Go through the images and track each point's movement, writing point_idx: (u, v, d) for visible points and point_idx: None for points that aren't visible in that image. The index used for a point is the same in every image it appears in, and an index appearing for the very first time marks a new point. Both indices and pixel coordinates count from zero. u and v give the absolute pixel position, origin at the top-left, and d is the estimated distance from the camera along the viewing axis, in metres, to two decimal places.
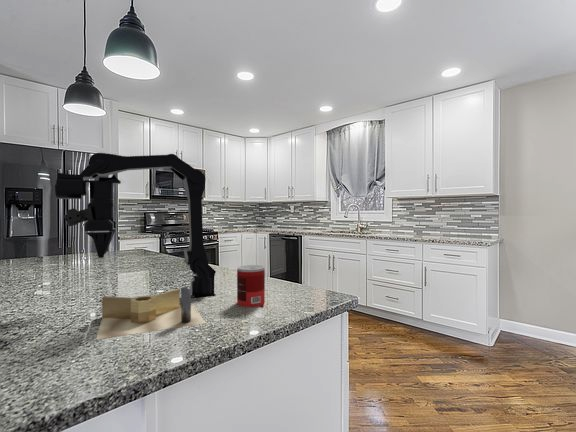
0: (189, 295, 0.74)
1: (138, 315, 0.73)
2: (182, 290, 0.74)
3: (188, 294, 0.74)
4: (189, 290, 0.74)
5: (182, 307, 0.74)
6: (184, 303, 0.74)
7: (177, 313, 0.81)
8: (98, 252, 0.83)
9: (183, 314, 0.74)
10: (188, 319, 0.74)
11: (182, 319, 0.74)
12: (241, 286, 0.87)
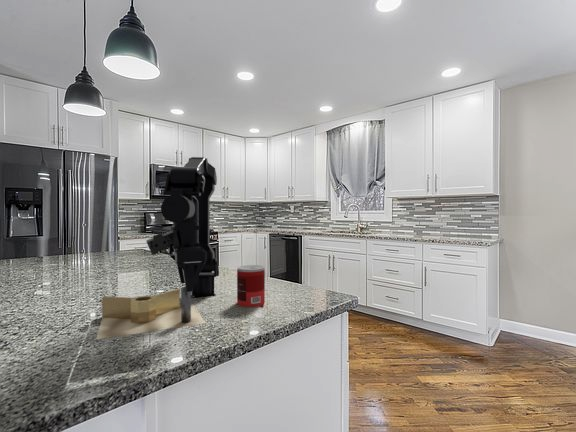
0: (189, 295, 0.74)
1: (138, 315, 0.73)
2: (182, 290, 0.74)
3: (188, 294, 0.74)
4: None
5: (182, 307, 0.74)
6: (184, 303, 0.74)
7: (177, 313, 0.81)
8: (187, 285, 0.70)
9: (183, 314, 0.74)
10: (188, 319, 0.74)
11: (182, 319, 0.74)
12: (241, 286, 0.87)
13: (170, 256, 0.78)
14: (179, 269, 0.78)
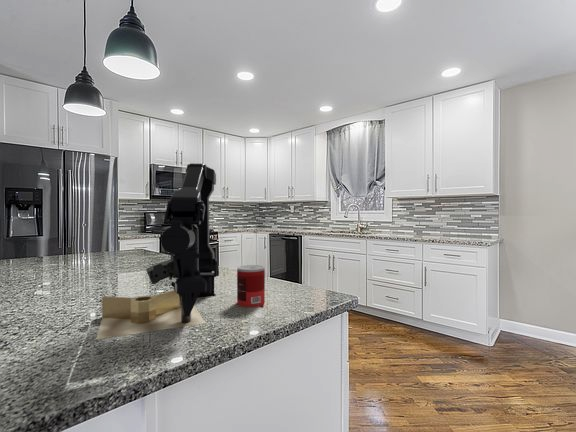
0: None
1: (138, 315, 0.73)
2: None
3: None
4: None
5: (182, 307, 0.74)
6: None
7: (177, 313, 0.81)
8: (185, 311, 0.73)
9: (183, 314, 0.74)
10: (188, 319, 0.74)
11: (182, 319, 0.74)
12: (241, 286, 0.87)
13: (172, 285, 0.75)
14: (181, 299, 0.75)
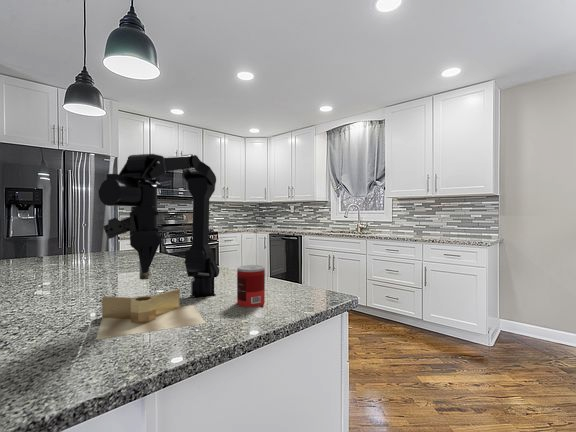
0: None
1: (138, 315, 0.73)
2: None
3: None
4: None
5: (140, 264, 0.75)
6: None
7: (177, 313, 0.81)
8: (142, 267, 0.74)
9: (141, 271, 0.75)
10: (146, 276, 0.75)
11: (140, 276, 0.75)
12: (241, 286, 0.87)
13: None
14: None
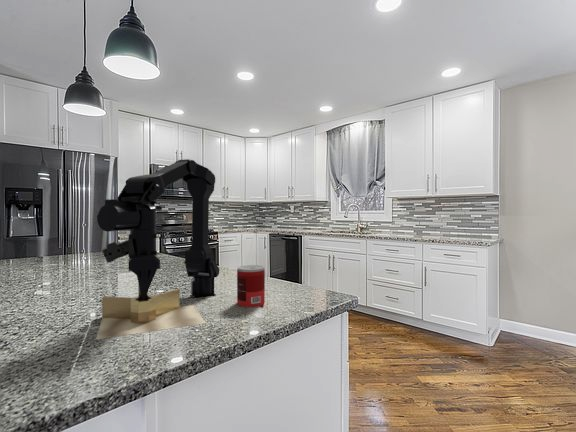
0: None
1: (138, 315, 0.73)
2: None
3: None
4: None
5: None
6: None
7: (177, 313, 0.81)
8: (141, 289, 0.74)
9: (140, 293, 0.75)
10: (145, 298, 0.75)
11: (139, 298, 0.75)
12: (241, 286, 0.87)
13: None
14: None
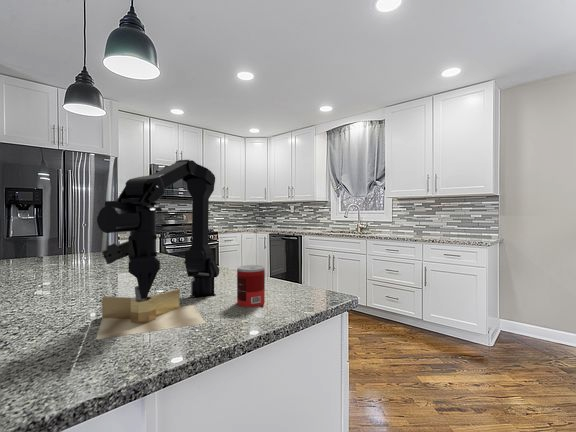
0: None
1: (138, 315, 0.73)
2: (135, 289, 0.75)
3: None
4: None
5: None
6: None
7: (177, 313, 0.81)
8: (141, 293, 0.73)
9: None
10: None
11: None
12: (241, 286, 0.87)
13: None
14: None
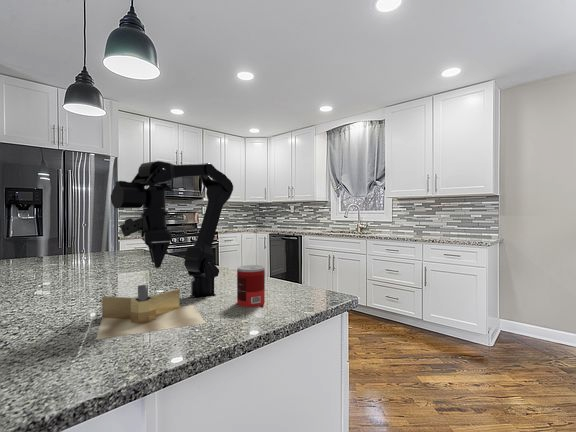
0: (146, 292, 0.76)
1: (138, 315, 0.73)
2: (138, 288, 0.76)
3: (144, 291, 0.76)
4: (145, 288, 0.76)
5: None
6: None
7: (177, 313, 0.81)
8: (155, 262, 0.82)
9: None
10: None
11: None
12: (241, 286, 0.87)
13: (142, 239, 0.90)
14: (150, 250, 0.90)
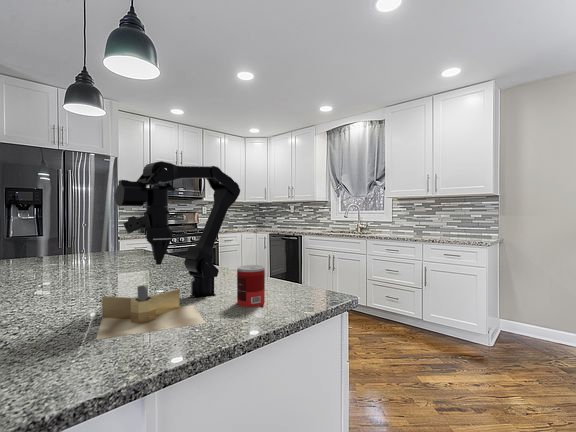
0: (145, 293, 0.76)
1: (138, 315, 0.73)
2: (138, 289, 0.75)
3: (144, 292, 0.75)
4: (145, 288, 0.76)
5: None
6: None
7: (177, 313, 0.81)
8: (156, 259, 0.84)
9: None
10: None
11: None
12: (241, 286, 0.87)
13: (145, 237, 0.93)
14: (153, 248, 0.93)
